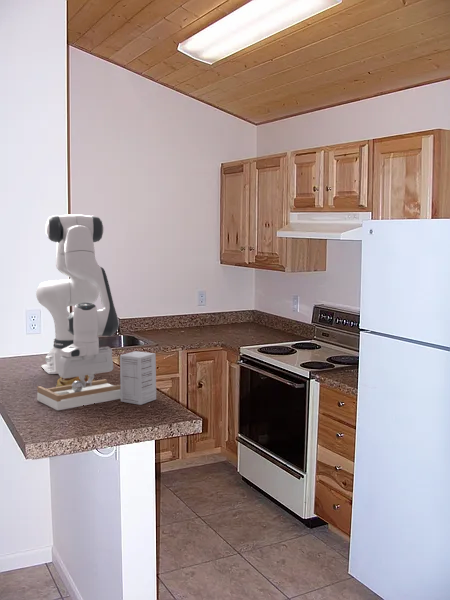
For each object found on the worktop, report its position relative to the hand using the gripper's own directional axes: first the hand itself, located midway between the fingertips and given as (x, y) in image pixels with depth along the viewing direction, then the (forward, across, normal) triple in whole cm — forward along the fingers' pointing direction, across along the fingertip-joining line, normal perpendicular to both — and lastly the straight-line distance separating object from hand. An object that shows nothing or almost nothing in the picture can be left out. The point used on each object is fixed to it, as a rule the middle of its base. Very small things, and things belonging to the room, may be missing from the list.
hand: (86, 386), depth 227 cm
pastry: (+5, -4, -16) cm, 18 cm away
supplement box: (+4, -13, +14) cm, 19 cm away
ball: (-1, +4, 0) cm, 4 cm away
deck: (+4, +2, 0) cm, 5 cm away
